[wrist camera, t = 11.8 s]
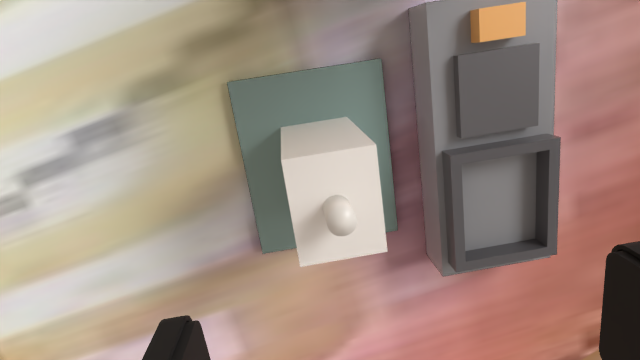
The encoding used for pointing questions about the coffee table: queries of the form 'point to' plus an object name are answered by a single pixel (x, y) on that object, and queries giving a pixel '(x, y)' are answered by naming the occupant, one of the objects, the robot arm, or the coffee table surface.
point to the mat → (299, 108)
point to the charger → (333, 191)
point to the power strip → (486, 130)
